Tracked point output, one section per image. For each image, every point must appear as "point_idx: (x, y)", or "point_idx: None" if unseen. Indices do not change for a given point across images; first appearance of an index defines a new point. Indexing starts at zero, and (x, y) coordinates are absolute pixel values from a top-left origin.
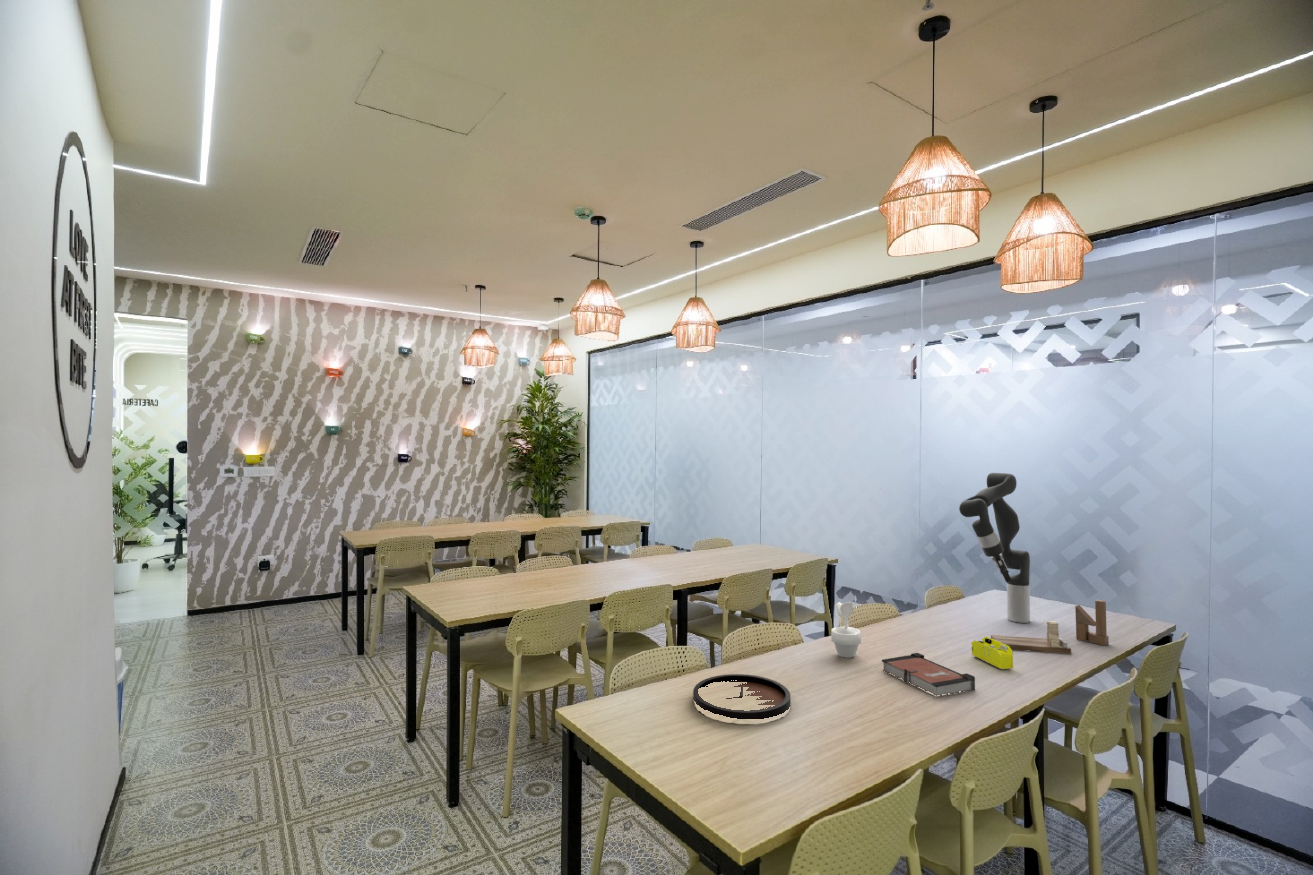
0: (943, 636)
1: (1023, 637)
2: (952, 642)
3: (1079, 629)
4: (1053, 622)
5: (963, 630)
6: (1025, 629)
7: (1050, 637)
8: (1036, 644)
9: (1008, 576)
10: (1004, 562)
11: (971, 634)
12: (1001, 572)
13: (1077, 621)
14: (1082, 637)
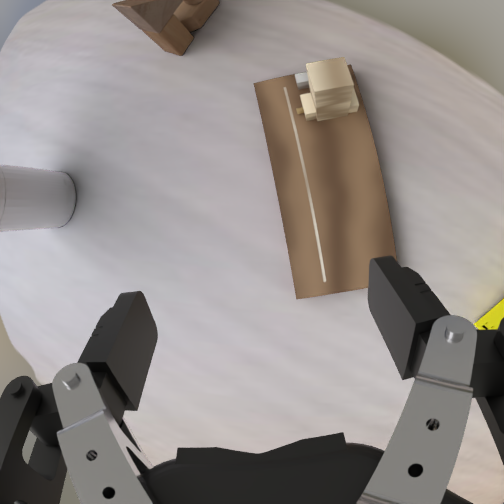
0: (314, 421)
1: (280, 190)
2: (371, 401)
3: (174, 34)
4: (329, 70)
5: (220, 365)
6: (128, 181)
7: (349, 105)
8: (354, 156)
9: (435, 299)
10: (452, 462)
11: (257, 348)
12: (479, 399)
13: (160, 27)
14: (187, 38)
